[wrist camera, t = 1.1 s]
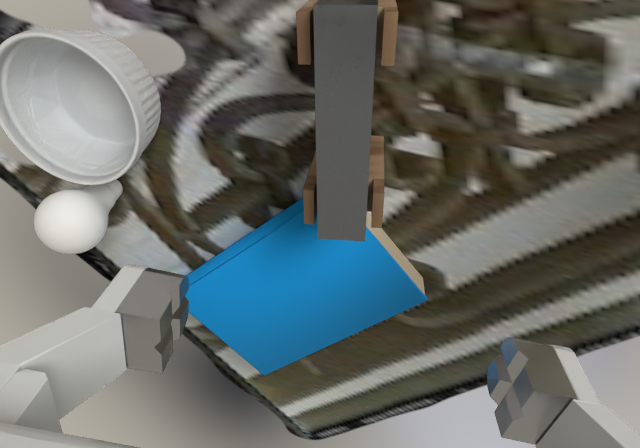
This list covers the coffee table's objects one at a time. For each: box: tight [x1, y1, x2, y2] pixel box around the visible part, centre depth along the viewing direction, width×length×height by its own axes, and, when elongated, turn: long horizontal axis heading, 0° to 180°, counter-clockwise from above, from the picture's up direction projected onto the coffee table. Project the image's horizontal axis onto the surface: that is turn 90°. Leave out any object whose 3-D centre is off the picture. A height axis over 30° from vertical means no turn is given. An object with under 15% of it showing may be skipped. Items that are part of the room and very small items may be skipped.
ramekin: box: [0, 29, 161, 185], centre depth 39 cm, size 13×13×7 cm
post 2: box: [303, 136, 384, 228], centre depth 37 cm, size 6×3×11 cm, turn 91°
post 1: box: [296, 0, 398, 66], centre depth 31 cm, size 6×3×11 cm, turn 91°
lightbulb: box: [34, 179, 123, 254], centre depth 43 cm, size 6×6×11 cm
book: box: [185, 198, 427, 375], centre depth 51 cm, size 17×4×25 cm
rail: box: [313, 0, 378, 242], centre depth 30 cm, size 4×16×4 cm, turn 1°
